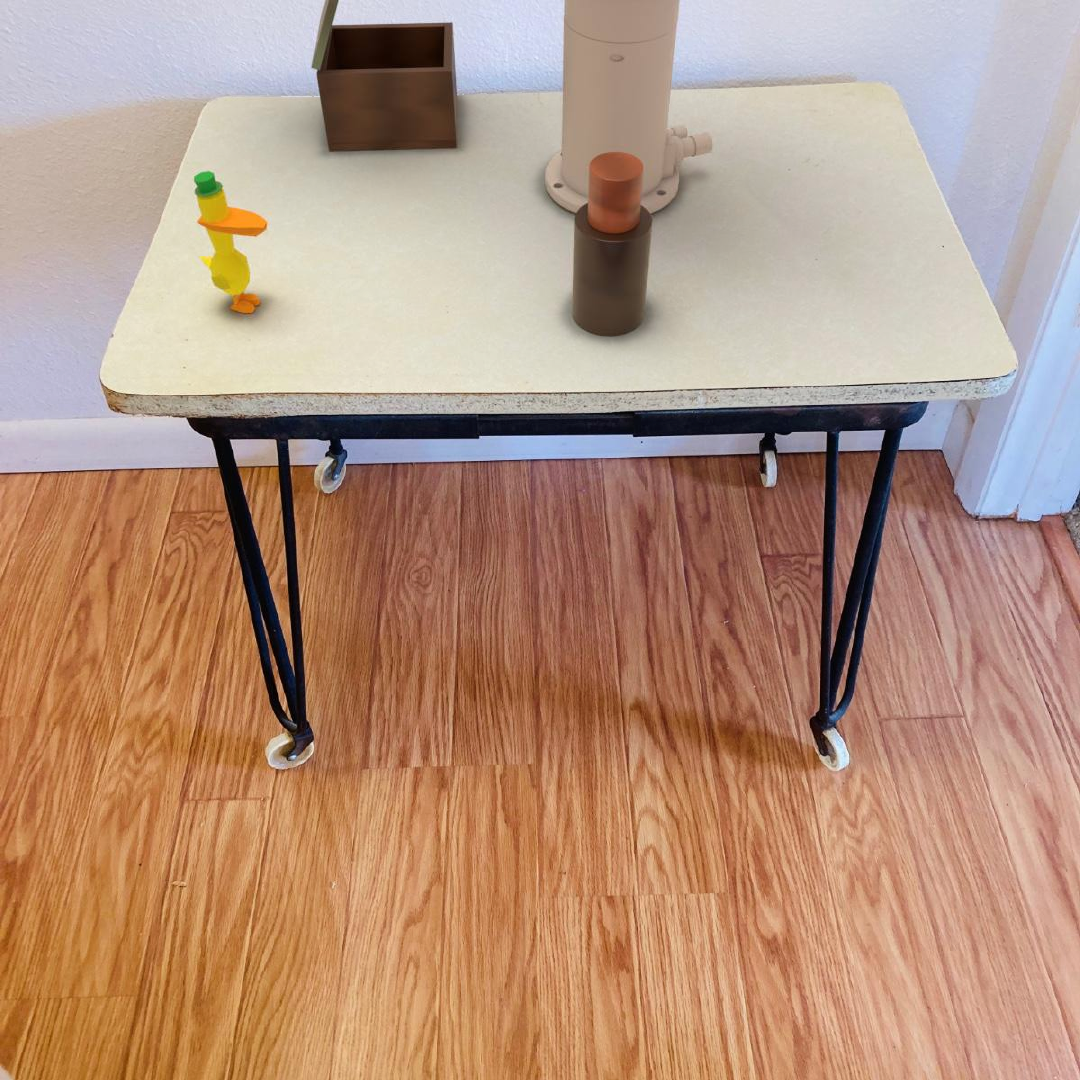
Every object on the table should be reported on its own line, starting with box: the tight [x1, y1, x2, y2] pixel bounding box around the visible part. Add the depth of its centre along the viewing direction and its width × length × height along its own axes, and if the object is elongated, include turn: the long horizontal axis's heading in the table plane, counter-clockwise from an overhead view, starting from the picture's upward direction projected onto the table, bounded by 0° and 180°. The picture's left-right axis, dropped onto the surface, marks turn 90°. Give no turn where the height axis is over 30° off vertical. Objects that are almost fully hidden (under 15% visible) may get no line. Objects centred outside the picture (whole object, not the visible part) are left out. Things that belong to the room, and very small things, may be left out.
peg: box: [587, 152, 643, 234], centre depth 82 cm, size 4×4×4 cm
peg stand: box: [571, 203, 653, 337], centre depth 87 cm, size 6×6×9 cm
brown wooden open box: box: [316, 22, 458, 152], centre depth 107 cm, size 13×10×8 cm
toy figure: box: [193, 170, 268, 314], centre depth 86 cm, size 7×4×12 cm, turn 75°
